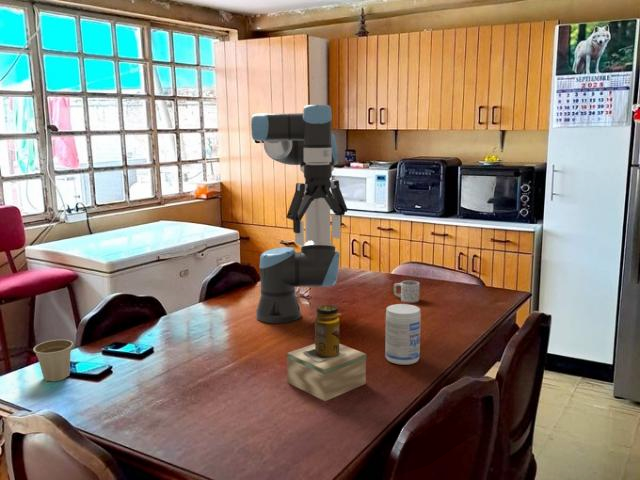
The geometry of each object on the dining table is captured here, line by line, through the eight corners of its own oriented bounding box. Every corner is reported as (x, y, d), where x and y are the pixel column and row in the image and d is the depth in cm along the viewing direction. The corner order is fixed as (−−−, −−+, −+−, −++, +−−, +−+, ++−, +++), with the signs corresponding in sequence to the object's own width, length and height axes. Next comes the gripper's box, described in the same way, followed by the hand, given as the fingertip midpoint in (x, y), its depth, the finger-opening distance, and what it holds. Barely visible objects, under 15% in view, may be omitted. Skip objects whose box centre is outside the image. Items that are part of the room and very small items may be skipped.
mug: (421, 299, 220) (422, 282, 219) (414, 303, 215) (415, 286, 214) (397, 295, 226) (397, 278, 224) (389, 299, 220) (390, 282, 219)
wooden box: (287, 382, 150) (286, 352, 148) (327, 367, 159) (327, 339, 158) (324, 401, 140) (324, 369, 138) (366, 383, 149) (366, 353, 148)
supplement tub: (416, 367, 159) (418, 315, 156) (381, 363, 161) (382, 312, 159) (421, 354, 168) (423, 304, 165) (388, 351, 170) (389, 302, 168)
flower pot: (51, 388, 148) (47, 355, 146) (29, 379, 153) (25, 348, 151) (83, 374, 156) (80, 343, 154) (61, 367, 161) (58, 337, 159)
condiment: (346, 355, 147) (346, 308, 145) (318, 362, 142) (317, 315, 140) (329, 346, 153) (329, 301, 150) (302, 353, 148) (301, 307, 146)
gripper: (290, 166, 148) (292, 249, 152) (360, 162, 164) (359, 237, 168) (272, 165, 153) (274, 245, 157) (341, 160, 170) (341, 233, 174)
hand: (318, 241), depth 163 cm, fingers open, 13 cm apart
